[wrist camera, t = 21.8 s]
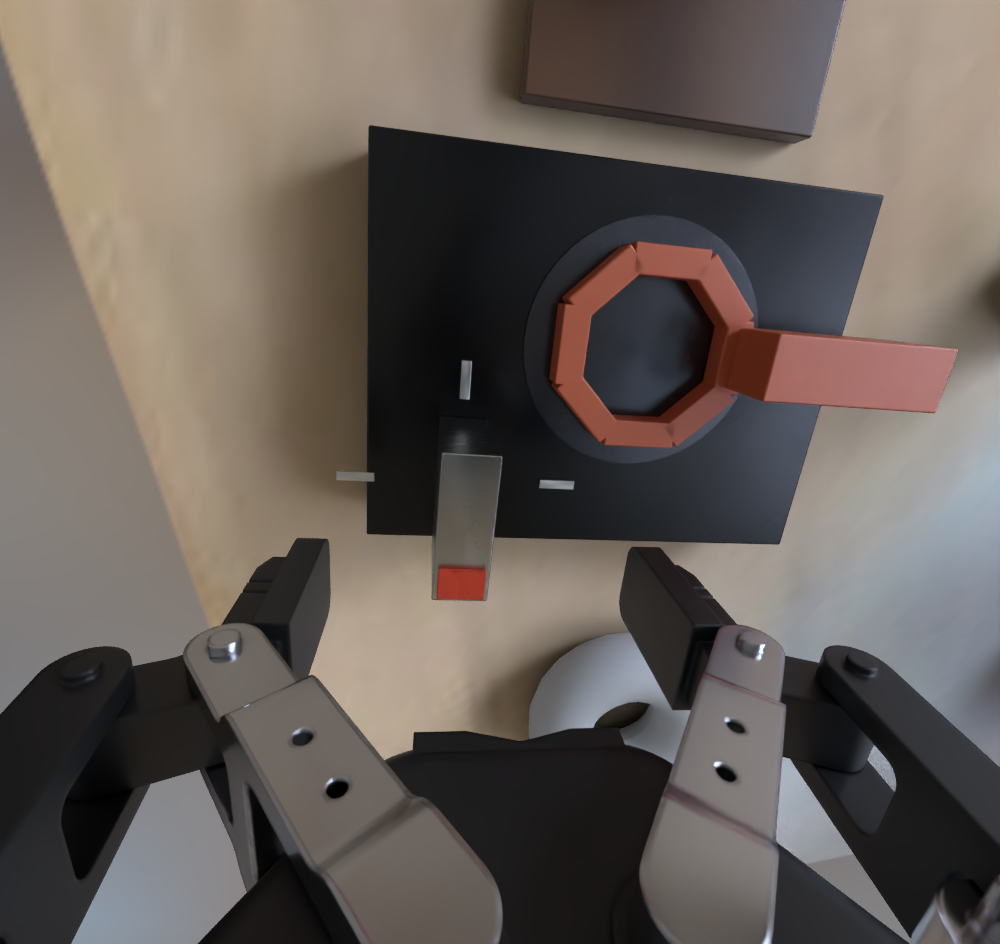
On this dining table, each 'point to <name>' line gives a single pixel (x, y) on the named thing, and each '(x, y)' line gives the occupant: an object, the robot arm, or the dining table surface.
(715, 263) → the hanging ring
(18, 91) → the dining table surface
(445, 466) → the knob
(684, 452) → the stove
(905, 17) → the dining table surface
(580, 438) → the burner
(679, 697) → the robot arm
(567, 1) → the peg stand
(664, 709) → the donut
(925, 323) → the dining table surface
